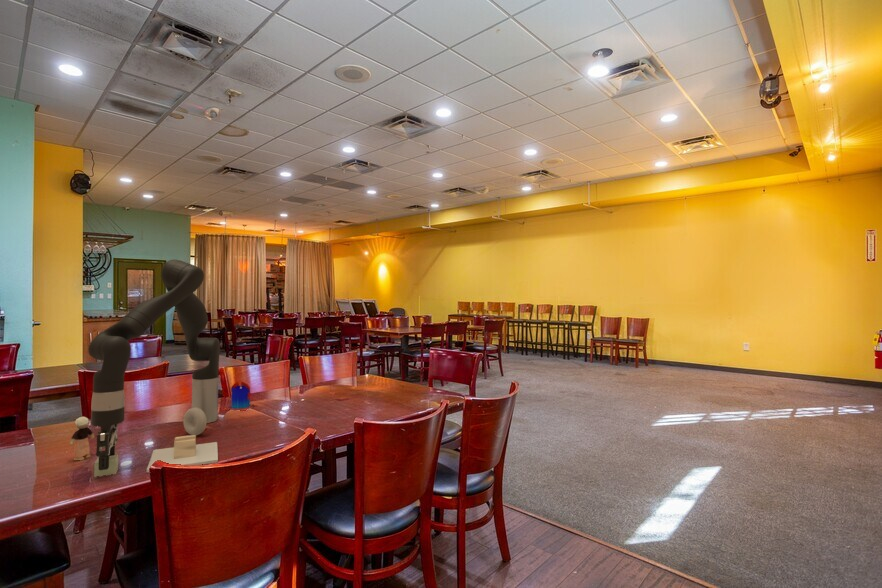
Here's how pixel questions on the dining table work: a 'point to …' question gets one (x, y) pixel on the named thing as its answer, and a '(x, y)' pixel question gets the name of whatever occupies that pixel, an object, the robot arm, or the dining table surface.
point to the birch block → (184, 446)
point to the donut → (189, 421)
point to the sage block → (111, 470)
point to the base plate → (202, 456)
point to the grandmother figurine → (81, 439)
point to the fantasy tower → (240, 397)
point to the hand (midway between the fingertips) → (106, 464)
